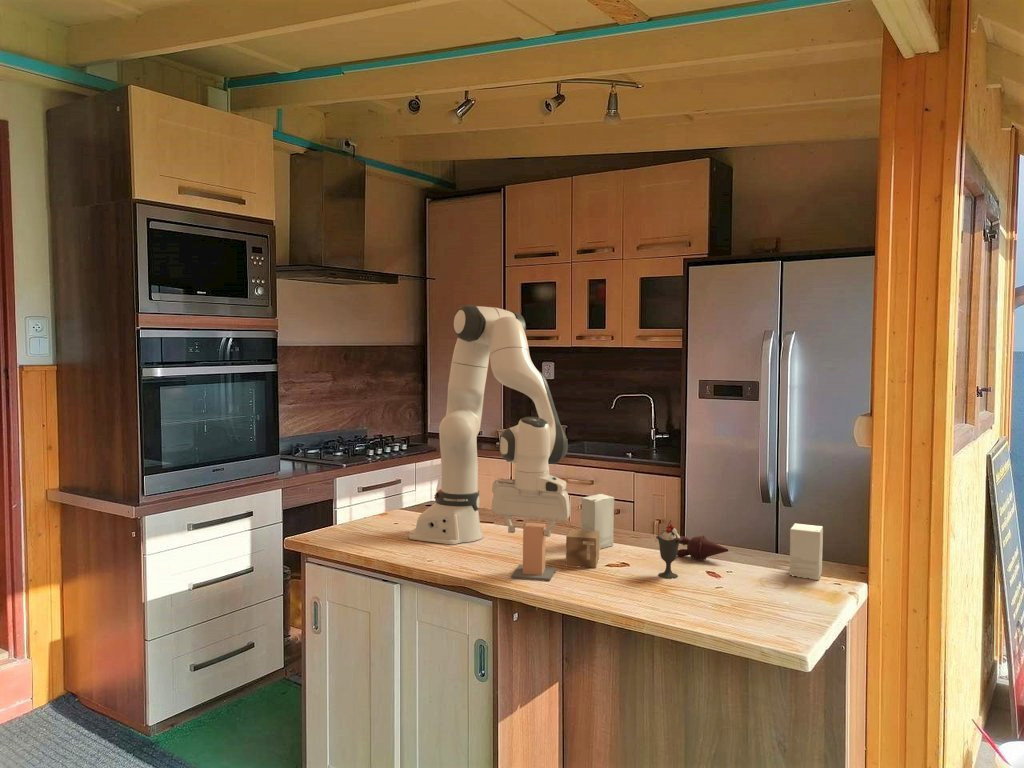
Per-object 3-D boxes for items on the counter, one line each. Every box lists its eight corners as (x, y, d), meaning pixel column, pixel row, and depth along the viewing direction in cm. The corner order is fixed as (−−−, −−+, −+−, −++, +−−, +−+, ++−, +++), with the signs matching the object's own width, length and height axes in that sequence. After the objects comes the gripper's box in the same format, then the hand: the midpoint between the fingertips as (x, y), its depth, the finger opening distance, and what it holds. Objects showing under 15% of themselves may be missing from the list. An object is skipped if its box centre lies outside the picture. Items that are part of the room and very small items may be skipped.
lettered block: (565, 566, 211) (566, 536, 211) (570, 557, 219) (570, 529, 219) (595, 568, 209) (596, 538, 209) (598, 559, 217) (599, 531, 217)
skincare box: (599, 542, 236) (600, 493, 236) (614, 546, 232) (615, 496, 231) (579, 546, 231) (580, 496, 230) (594, 551, 226) (595, 499, 226)
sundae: (666, 581, 199) (667, 522, 198) (650, 573, 205) (651, 516, 204) (686, 577, 202) (688, 519, 201) (670, 570, 208) (671, 514, 207)
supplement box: (822, 573, 207) (824, 526, 207) (818, 580, 201) (820, 531, 200) (793, 569, 211) (794, 522, 210) (788, 576, 204) (789, 528, 204)
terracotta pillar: (522, 573, 202) (523, 527, 201) (526, 567, 207) (526, 522, 206) (541, 574, 201) (542, 528, 200) (545, 569, 206) (545, 524, 205)
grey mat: (510, 578, 200) (510, 575, 200) (518, 566, 210) (519, 564, 210) (549, 581, 198) (549, 578, 198) (556, 569, 208) (556, 567, 208)
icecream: (733, 537, 218) (681, 534, 227) (724, 536, 212) (671, 533, 221) (732, 563, 217) (680, 559, 225) (723, 562, 211) (670, 558, 219)
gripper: (489, 479, 202) (487, 533, 202) (568, 486, 197) (565, 541, 198) (495, 475, 208) (493, 527, 209) (572, 482, 203) (569, 535, 204)
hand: (529, 534), depth 203 cm, fingers open, 8 cm apart
